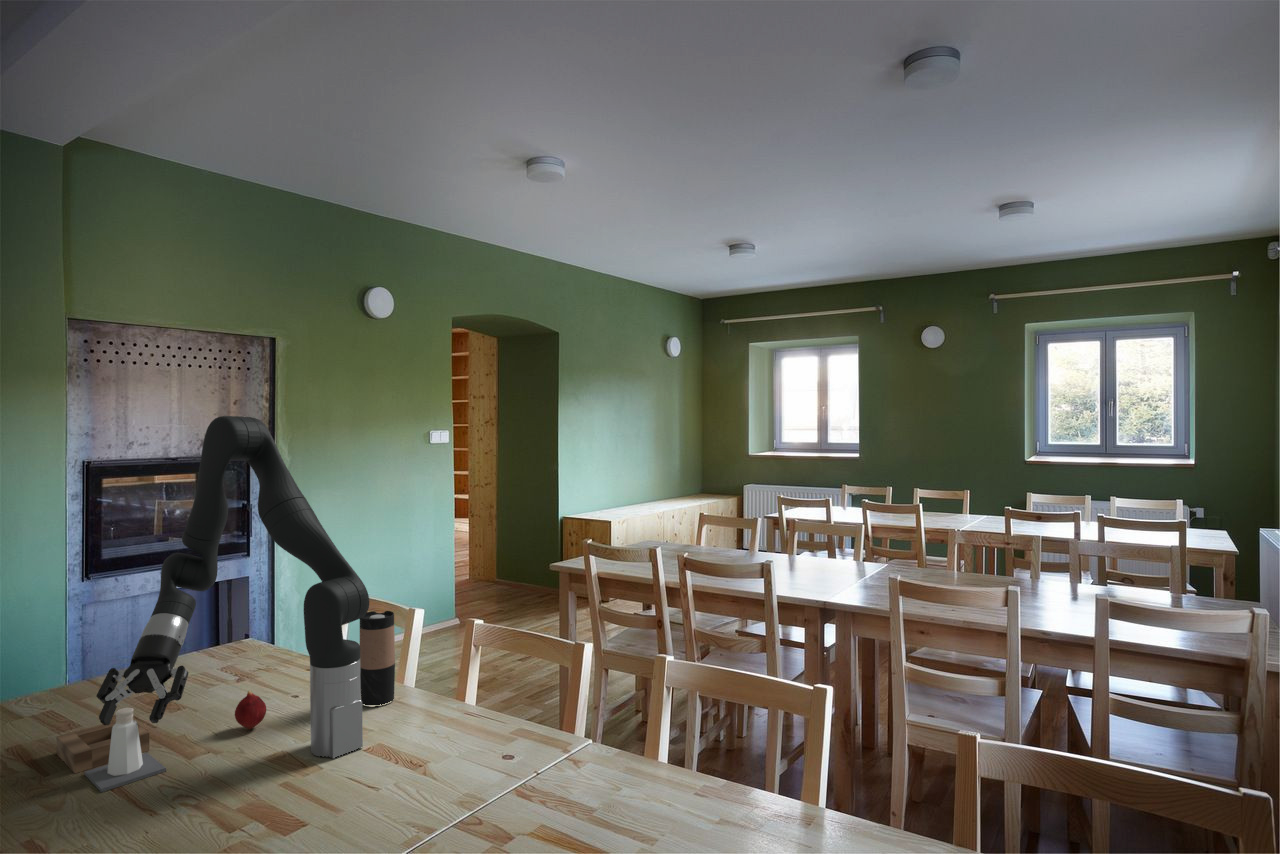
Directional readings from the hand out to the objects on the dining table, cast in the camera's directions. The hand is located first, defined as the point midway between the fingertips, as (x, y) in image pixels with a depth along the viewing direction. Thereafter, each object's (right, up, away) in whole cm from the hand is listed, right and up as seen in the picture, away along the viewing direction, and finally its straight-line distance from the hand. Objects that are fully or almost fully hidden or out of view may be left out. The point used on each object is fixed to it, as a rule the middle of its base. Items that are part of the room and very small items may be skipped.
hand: (128, 722), depth 138 cm
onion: (+13, -9, +18) cm, 24 cm away
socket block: (-10, -9, +7) cm, 15 cm away
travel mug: (+35, -8, +33) cm, 48 cm away
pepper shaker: (0, -8, -1) cm, 9 cm away
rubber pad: (0, -9, -1) cm, 9 cm away
